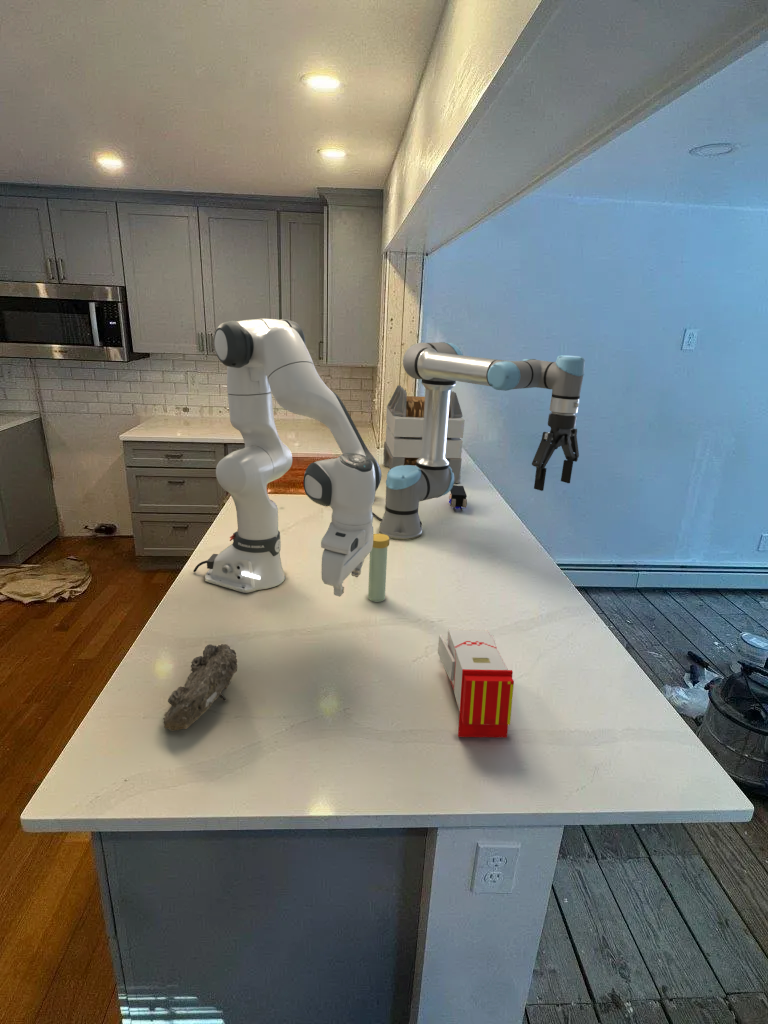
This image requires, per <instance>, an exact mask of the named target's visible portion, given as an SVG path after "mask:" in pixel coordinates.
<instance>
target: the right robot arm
mask: <svg viewBox="0 0 768 1024" xmlns="http://www.w3.org/2000/svg"><path fill="white" fill-rule="evenodd" d="M585 365H586V360H585V358H584V357H582V356H578V355H566V354H565V355H564V354H563V355H558V356H557V357H556V360H555V361H549V360H541V359H536V358H524V359H521V360H506V359H505V360H504V359H503V360H502V359H496V358H487V357H479V356H471V355H464V354H463V352H462V350H461V349H460V347H459V346H457V345H456V344H455V343H451V342H445V341H443V342H442V341H441V342H440V341H439V342H438V341H437V342H417V343H414V344H412V345H411V346H409V347H408V348H407V350H406V351H405V353H404V355H403V358H402V366H403V369H404V372H405V373H406V374H407V375H408V376H409V377H411V378H412V379H415V380H421V385H422V386H423V387H424V389H425V392H424V397H425V404H424V419H423V434H422V449H421V457H420V458H418V459H417V461H416V466H413V465H401V466H396V467H394V468H392V469H390V468H389V470H388V472H387V474H386V479H385V504H384V505H385V507H384V508H385V509H384V513H383V515H382V517H379V516H378V515H377V514H376V513H374V512H373V511H372V513H373V517H375V519H377V520H379V521H380V522H379V527H378V533H379V534H385V535H387V536H389V540H395V541H410V540H415V539H418V538H420V537H421V536H422V535H423V523H422V520H421V518H420V515H419V507H420V506H419V505H420V502H423V501H427V500H431V499H437V498H440V497H443V496H446V495H448V493H450V490H451V489H452V487H453V485H454V484H455V483H454V473H452V469H451V467H450V466H449V462H448V461H447V459H446V458H445V453H446V441H447V428H448V416H449V404H450V392H451V391H452V389H453V388H454V387H455V386H456V384H457V382H461V383H465V384H473V385H479V386H487V387H491V388H492V389H494V390H496V391H503V392H504V391H511V390H520V389H532V388H533V389H534V388H539V389H546V390H551V398H550V404H549V413H548V418H547V419H548V420H547V426H548V427H549V428H550V431H549V432H548V431H543V432H542V435H541V440H540V442H539V445H538V447H537V449H536V452H535V454H534V457H533V460H532V461H531V466H533V467H535V475H534V477H535V478H534V485H533V489H534V490H537V491H539V492H543V491H544V489H545V484H546V483H545V482H546V476H547V468H546V466H547V465H548V463H549V461H550V459H551V457H552V456H553V454H554V453H555V451H556V450H557V449H558V448H560V447H561V449H562V452H563V455H564V458H565V459H563V463H562V468H561V469H562V470H561V475H560V482H562V483H566V484H571V478H572V472H573V466H574V463H576V462H578V461H579V457H580V453H579V444H578V428H576V423H577V419H578V416H577V414H578V412H579V411H578V410H579V406H580V397H581V391H582V385H583V380H584V376H585Z"/></svg>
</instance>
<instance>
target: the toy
mask: <svg viewBox="0 0 768 1024" xmlns="http://www.w3.org/2000/svg"><path fill="white" fill-rule="evenodd" d="M446 640H447V643H446V641H445V639H444V636H443V635H442V634H439V637H438V646H437V656H438V657H439V659H440V661H441V663H442V666H443V668H444V670H445V672H446V674H447V677H448V679H449V681H450V684H451V687H452V690H453V693H454V697H455V701H456V705H457V708H458V711H459V714H458V715H459V716H458V730H457V731H458V732H457V737H458V738H508V731H509V726H510V725H511V717H512V707H513V697H514V696H513V695H514V684H515V680H514V679H513V673H514V671H513V670H512V669H508V667H507V665H506V662H505V661H504V659H503V658H502V655H501V653H500V651H499V649H498V647H497V643H496V639H495V637H494V635H493V634H491V632H490V631H489V629H467V628H466V629H465V628H463V629H461V628H460V629H459V628H448V630H447V639H446Z"/></svg>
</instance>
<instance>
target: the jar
mask: <svg viewBox="0 0 768 1024" xmlns="http://www.w3.org/2000/svg"><path fill="white" fill-rule="evenodd" d="M387 561H388V547H386V548H373V547H372V550H371V552H370V553H369V562H368V589H367V590H368V591H367V593H368V594H367V599H368V600H369V601H370V602H376V603H381V602H383V601H384V600H385V599H386V584H387V563H388V562H387Z"/></svg>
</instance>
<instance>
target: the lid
mask: <svg viewBox="0 0 768 1024" xmlns="http://www.w3.org/2000/svg"><path fill="white" fill-rule="evenodd" d="M389 546H390V538H389V536H387V535H385V534H380V533H373V548H386V547H387V548H388V547H389Z"/></svg>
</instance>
